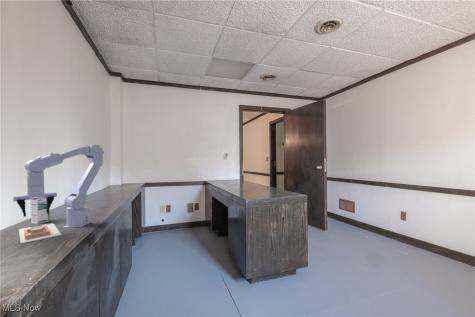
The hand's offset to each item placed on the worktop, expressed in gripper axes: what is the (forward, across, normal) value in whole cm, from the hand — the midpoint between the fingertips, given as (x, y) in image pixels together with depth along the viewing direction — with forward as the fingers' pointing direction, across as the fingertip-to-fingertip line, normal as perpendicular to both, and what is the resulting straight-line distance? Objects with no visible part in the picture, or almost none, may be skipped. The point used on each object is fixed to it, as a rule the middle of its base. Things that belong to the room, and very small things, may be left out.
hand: (36, 214), depth 98 cm
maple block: (+9, 0, 0) cm, 9 cm away
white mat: (+9, -1, -3) cm, 10 cm away
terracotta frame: (+9, 0, 0) cm, 9 cm away
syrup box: (+10, -3, -24) cm, 26 cm away
